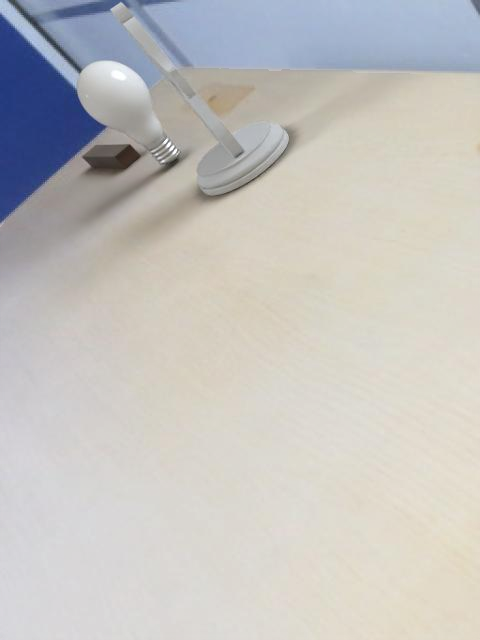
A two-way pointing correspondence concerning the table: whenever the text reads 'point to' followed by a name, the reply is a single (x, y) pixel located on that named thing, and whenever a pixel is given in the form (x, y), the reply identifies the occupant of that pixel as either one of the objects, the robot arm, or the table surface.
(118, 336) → the table surface
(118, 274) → the table surface
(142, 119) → the lightbulb
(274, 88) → the table surface
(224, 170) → the white sign stand
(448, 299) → the table surface
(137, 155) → the walnut stick
